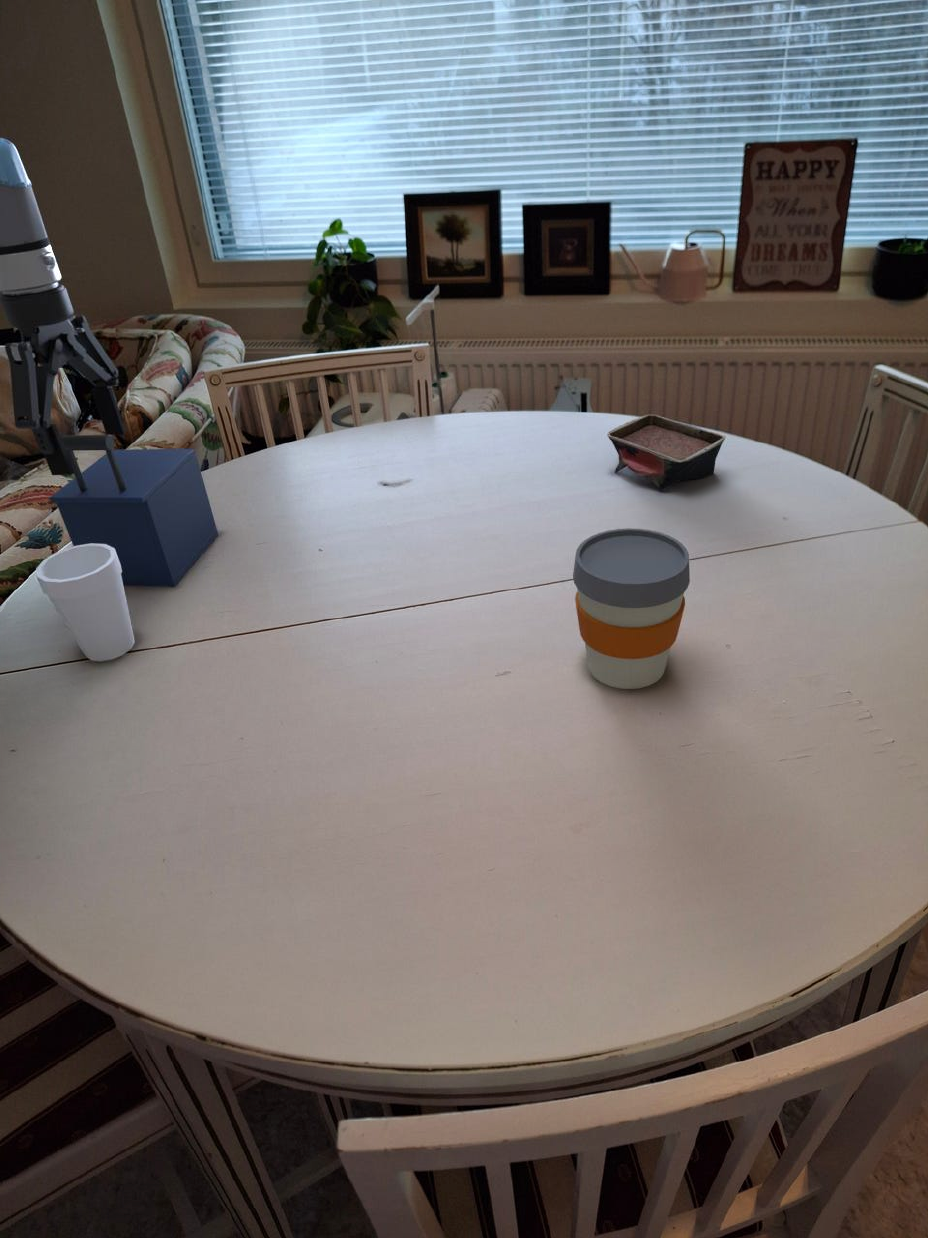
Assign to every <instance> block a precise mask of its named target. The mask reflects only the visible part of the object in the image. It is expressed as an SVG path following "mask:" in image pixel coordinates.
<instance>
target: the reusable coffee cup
mask: <svg viewBox="0 0 928 1238" xmlns="http://www.w3.org/2000/svg"><path fill="white" fill-rule="evenodd" d="M574 557H575V558H574V565H573V571H572V572H573V573H572V581H573V583H574V585H575V587H576V589H577V591H576V593H575V596H574V603H575V608H576V616H577V621H578V628H579V634H580V635H579V636H580V637H581V640H582V641H583V642H584V645H585V654H586V659H587V666H588V670H589V672H590V674H591V675H592V676H593V677H594V679H596V680H597V681H598V682H600V683H602V684H603V685H606V686H608V687H611V688H615V689H619V690H620V689H622V690H636V689H642V688H646V687H649V686H651V685H653V684H656V683H657V682H658V681H660V680H661V678H662V677H663V675H664V674H665V671H666V667H667V663H668V660H669V659H668V658H669V655H670V651H671V647H672V646H673V645H674V643H675V642H676V641H677V637H678V634H679V630H680V627H681V622H682V619H683V614H684V610H685V608H686V607H685V606H686V597H685V595H684V594H685V592H686V591H687V589H688V588H689V585H690V582H691V579H690V576H691V575H690V554H689V552H688V549H687V547H686V546H685V545H684V544H683V543H682V542H680V541H679V540H678V539H676V538H675V537H672V536H670V535H668V534H665V533H662V532H661V531H656V530H651V529H643V528H617V529H610V530H606V531H601V532H598V533H596V534H593V535H591V536H589V537H587V538H586V539H584V540H583V541H582V542H580V544H579V545H578V547H577V548H576V551H575V556H574Z"/></svg>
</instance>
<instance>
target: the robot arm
mask: <svg viewBox="0 0 928 1238" xmlns="http://www.w3.org/2000/svg"><path fill="white" fill-rule="evenodd" d="M32 186H33V184H32V182H31V180H30V178H29V177H28V174H27V172H26V169H25V166H24V164H23V161H22V160H21V157H20V154H19V151H18V149H17V148H16V146H15V144H14V143H13V142H11V141H10V140H8V139H6V138H4V137H0V292H1V294H0V303H1V307H2V309H3V312H4V314H5V317H6V319H7V322H8V323H9V325H10V326H11V327H13V328H15V329H17V330H18V331H19V333H20V337H21V342H9V343H7V342H6V343H5V345H4V349H5V353H6V357H7V360H8V362H9V368H10V369H9V370H10V380H11V393H12V404H13V405H12V407H13V419H14V426H15V427H16V428H17V430H23V429H24V430H25V429H26V430H27V429H28V430H31V432H32V434H33V436H34V438H35V441H36V443H37V446H38V449H39V451H40V452H41V454H43V456H44V458H45V461H46V464H47V466H48V469H49V471H50V473H51V474H50V475H51V476H72V475H74V471H73V468H72V465H71V463H70V460H69V458H68V455H67V452H66V450H65V447H64V445H63V442H62V439H61V437H60V436H61V434H60V431H59V429H58V427H57V424H56V423H52V424H51V416H52V405H53V404H52V403H53V395H54V394H53V393H54V385H55V383H54V382H55V377H56V376H57V375H58V374H59V369H61V368H62V367H64V366H65V364H67V363H68V364H69V365H71V366H72V368H73V369H75V370H76V371H77V372H78V373H79V374H81V375H82V376H83V378H85V379H86V380H87V381H88V382H89V383H91V385H93V386H94V387H93V388H92V389H90V392H91V394H92V397H93V400H94V403H95V406H96V408H97V411H98V414H99V415H98V416H99V418H100V420H101V423H102V426H103V429H104V432H105V435H111V436H117V435H118V436H119V435H120V436H121V435H125V434H127V429H126V426H125V424H124V421H123V418H122V415H121V412H120V409H119V404H118V400H117V398H116V395H115V392H114V389H113V387H117V386H119V379H118V377H119V370H118V368H117V367H116V366H115V364H114V363H113V361H112V360H111V358H110V357H109V355H108V354H107V353H106V351H105V350H104V348H103V347H102V345H101V344H100V342H99V341H98V339H97V338H96V336H95V335H94V333H93V332H92V330H91V328H90V326H89V323H88V321H87V319H86V316H85V315H83V314H74V308H73V306H72V301H71V300H70V297H69V293H68V290H67V288H66V286H64V285H63V284H62V283H59V282H60V281H61V279H62V274H61V271H60V269H59V266H58V263H57V260H56V257H55V255H54V252H53V249H52V246H51V242H50V238H49V236H48V234H47V231H46V228H45V224H44V222H43V218H42V215H41V212H40V209H39V206H38V202H37V200H36V197H35V193H34V190H33V187H32Z"/></svg>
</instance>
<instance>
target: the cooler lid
mask: <svg viewBox="0 0 928 1238" xmlns="http://www.w3.org/2000/svg"><path fill="white" fill-rule="evenodd" d="M60 437H61V439H62V442H63V445H64V447H65V450H66V452H67V455H68V458H69V460H70V463H71V465H72V468H73V471H74V473H73V475H74V478H73V479H71V480H70V481H69V482H67V483H66V484H65V485H64V486H62V487H61V488H60V489H58V490H57V491H55V493H53V494H52V495H51V496H50V497H49V500H50V503H52V504H53V503H54V504H56V503H143V502H145V501H146V500H147V499H148V498H149V497H150V496H151V495H152V494H153V493H154V492H155V491H156V490H157V489H158V488H159V487H161V486H162V485H163V484H164V483H165V482H166V481H167V480H168V479H169V478H170V477H171V476H172V475H173V474H174V473H175V472H176V471H178V470H179V469H180V468H181V467H182V466H183V465H184V464H185V463H186V462H187V461H188V460H189V459H190V458H191V457H192V456H194V455H195V454H196V455H197V453H196V450H195V448H143V449H140V448H139V449H137V448H133V449H132V448H131V449H129V448H128V449H114V448H115V439H114V437H113V435H106V434H80V435H79V434H75V435H74V434H73V435H71V434H70V435H60ZM74 451H105V452H106V453H105V454H104V455H102V456H100V458H99V459H97V460H95V462H94V463H92V464H91V465H89V466H88V467H87V468H85V469H84V470H83V471H81V469H80V465H79V462H78V460H77V457H76V455H75V452H74Z"/></svg>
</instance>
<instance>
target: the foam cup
mask: <svg viewBox="0 0 928 1238" xmlns="http://www.w3.org/2000/svg"><path fill="white" fill-rule="evenodd" d="M121 573H122V569H121V565H120V562H119V559H118V556H117V554H116V551H115V548H113V547H111V546H109V545H107V544H95V543H90V544H84V545H78V546H73V545H72V546H70V547H67V548H65V549H62V550H59V551H57V552H55V553H53V554H51V555H50V556H48V557H46V558H45V559H43V560H42V561H41V562H40V564H38V565H37V567H36V568H35V577H36V579H37V581H38V583H39V587H40V588H41V590H42V592H43V594H45V595H46V596H47V597H48V599H49V601H50V603H51V604H52V605H53V607H54V609H55V610H56V612H57V613H58V615H59V616H60V618H61V620H62V621H63V623H64V624H65V626H66V628H67V630H68V631H69V632H70V634H71V635H72V637H73V640H75V642H76V643H77V645H78V647H79V648H80V650H81V651H82V653H83V654H84V655H85V657H86V658H87V659H89V660H90V661H93V662H105V661H111V660H114V659H117V658H119V657H121V656H123V655H125V654H127V653H128V652H129V651H130V650H131V649H133V646H134V645H135V643H136V641H135V635H134V630H133V626H132V621H131V616H130V612H129V611H130V610H129V605H128V601H127V596H126V593H125V587H124V586H125V585H123V582H122V577H121Z"/></svg>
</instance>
